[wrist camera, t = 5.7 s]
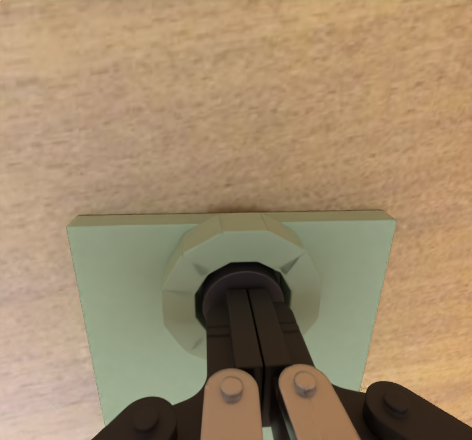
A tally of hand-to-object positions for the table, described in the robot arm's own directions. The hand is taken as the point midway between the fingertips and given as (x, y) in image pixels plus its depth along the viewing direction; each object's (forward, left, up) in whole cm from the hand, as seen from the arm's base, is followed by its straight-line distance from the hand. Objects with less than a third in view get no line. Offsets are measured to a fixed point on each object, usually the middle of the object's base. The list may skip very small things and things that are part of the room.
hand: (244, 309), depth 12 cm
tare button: (0, 0, -2) cm, 2 cm away
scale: (+5, 0, -3) cm, 6 cm away
